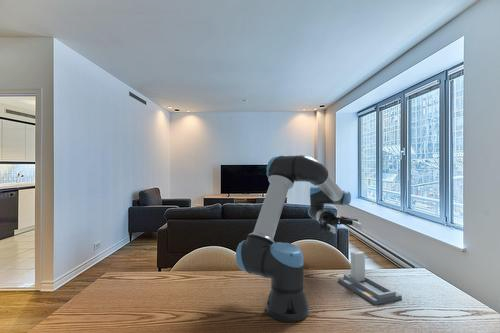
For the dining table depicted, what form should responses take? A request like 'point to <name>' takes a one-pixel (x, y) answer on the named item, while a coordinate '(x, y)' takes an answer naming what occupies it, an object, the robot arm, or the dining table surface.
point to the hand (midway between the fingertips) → (348, 228)
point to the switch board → (370, 289)
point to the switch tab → (358, 265)
